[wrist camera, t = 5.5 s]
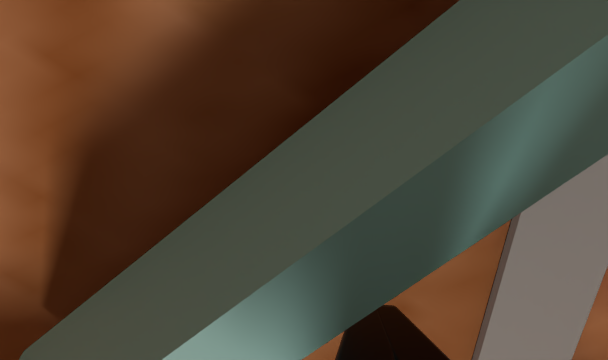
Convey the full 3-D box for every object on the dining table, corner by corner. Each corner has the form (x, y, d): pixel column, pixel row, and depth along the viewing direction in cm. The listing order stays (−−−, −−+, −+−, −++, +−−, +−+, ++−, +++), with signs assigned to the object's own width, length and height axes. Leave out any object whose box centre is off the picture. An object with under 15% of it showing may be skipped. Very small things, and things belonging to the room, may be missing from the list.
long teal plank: (598, -111, 9) (863, -152, 5) (629, -50, 9) (897, -39, 5) (24, 350, 12) (-98, 548, 8) (66, 379, 12) (-31, 582, 9)
